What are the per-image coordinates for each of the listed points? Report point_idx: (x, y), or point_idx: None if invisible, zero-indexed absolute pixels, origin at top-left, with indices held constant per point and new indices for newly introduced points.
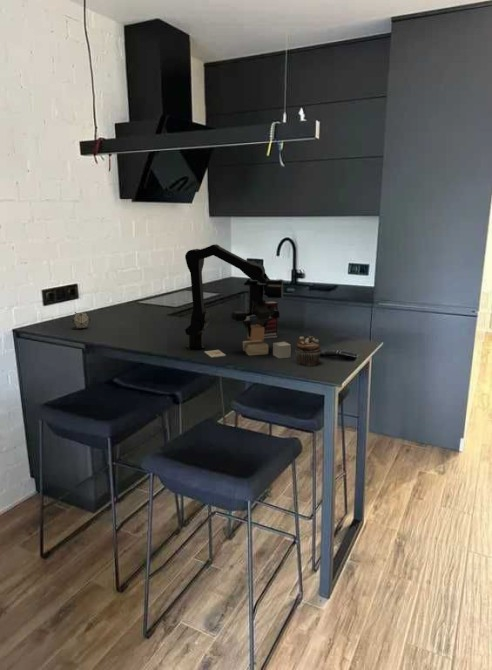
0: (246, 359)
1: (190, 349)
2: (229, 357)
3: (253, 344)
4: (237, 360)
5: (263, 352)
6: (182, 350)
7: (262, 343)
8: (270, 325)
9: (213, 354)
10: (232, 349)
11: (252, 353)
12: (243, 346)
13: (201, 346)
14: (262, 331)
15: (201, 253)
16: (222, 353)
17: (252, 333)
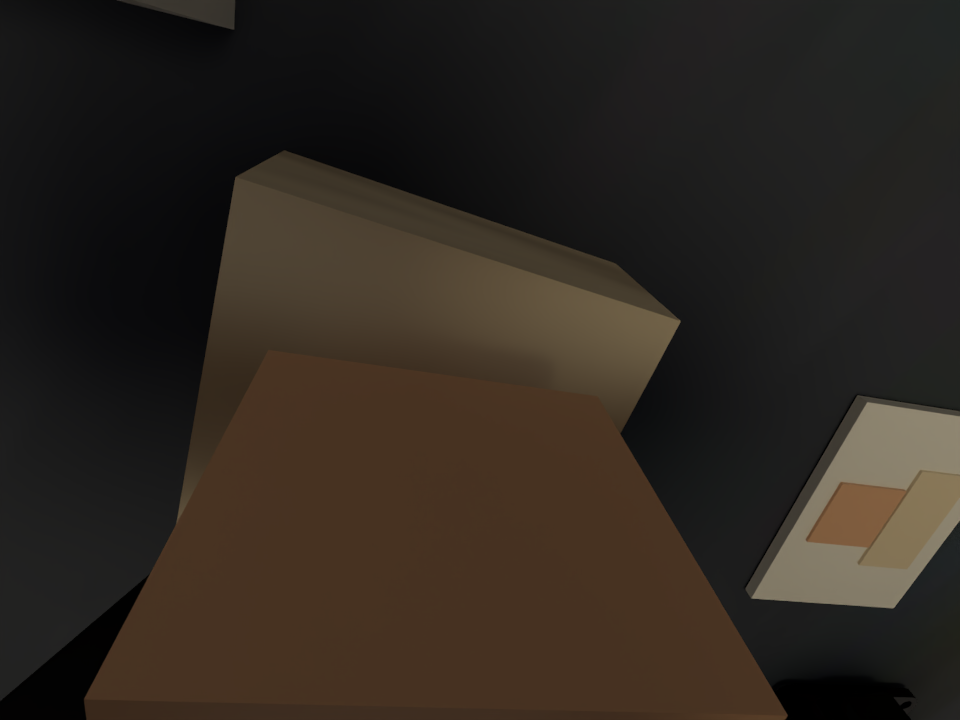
0: (804, 91)
1: (911, 693)
2: (877, 324)
3: (517, 379)
4: (935, 132)
5: (373, 186)
6: (948, 702)
7: (300, 353)
8: None
9: (948, 479)
10: None
11: (565, 253)
12: None
13: (841, 706)
14: (270, 523)
15: None
16: (837, 474)
17: (668, 535)
